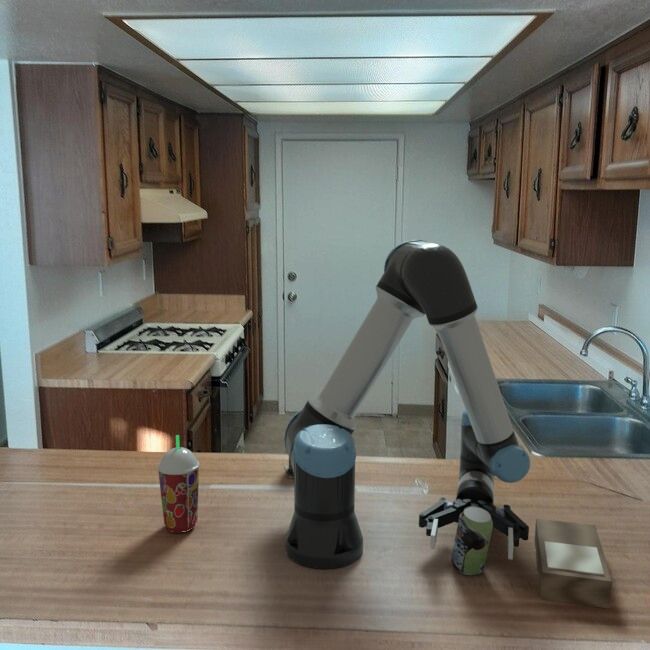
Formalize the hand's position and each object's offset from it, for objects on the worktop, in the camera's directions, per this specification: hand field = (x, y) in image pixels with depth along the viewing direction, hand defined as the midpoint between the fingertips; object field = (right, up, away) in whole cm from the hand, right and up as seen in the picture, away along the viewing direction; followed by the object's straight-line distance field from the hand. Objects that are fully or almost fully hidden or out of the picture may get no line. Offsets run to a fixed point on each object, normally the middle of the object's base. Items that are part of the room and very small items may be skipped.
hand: (471, 547), depth 119 cm
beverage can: (+1, -6, +4) cm, 7 cm away
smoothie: (-56, -3, +21) cm, 60 cm away
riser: (+19, -6, +4) cm, 20 cm away
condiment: (-32, +3, +49) cm, 59 cm away
